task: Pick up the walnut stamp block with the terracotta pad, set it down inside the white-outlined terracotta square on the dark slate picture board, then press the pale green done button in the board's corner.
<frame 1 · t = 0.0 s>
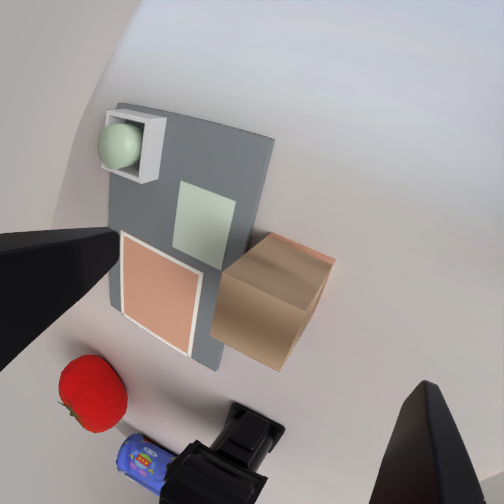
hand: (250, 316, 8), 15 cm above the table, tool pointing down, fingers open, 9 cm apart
done button: (121, 145, 23), point 3 cm above the table, slide at 0.0 cm
stamp: (293, 274, 24), on the table
pencil case: (186, 461, 48), on the table
tomato: (113, 376, 45), on the table
picture board: (168, 244, 29), on the table
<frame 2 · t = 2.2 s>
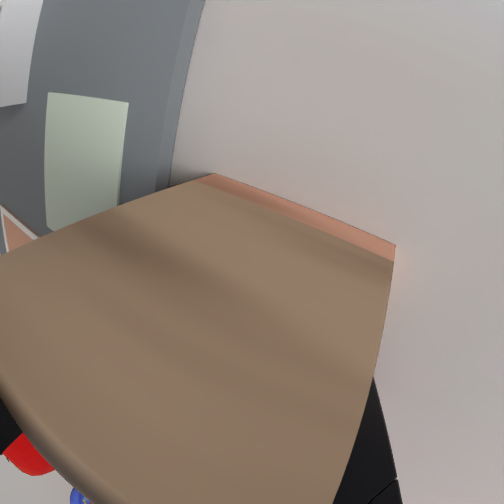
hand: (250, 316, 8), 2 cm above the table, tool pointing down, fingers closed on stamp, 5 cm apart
stamp: (274, 287, 9), on the table, touching gripper
tomato: (52, 407, 30), on the table
picture board: (49, 223, 14), on the table
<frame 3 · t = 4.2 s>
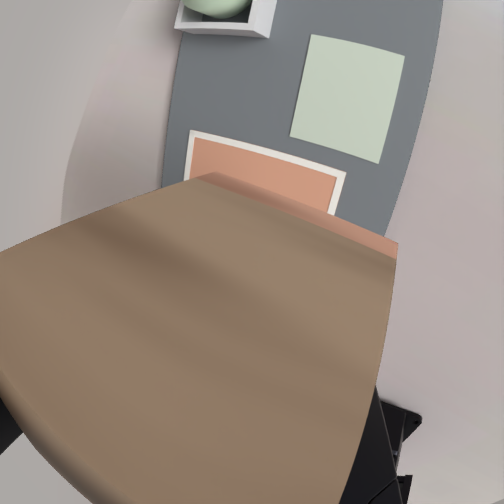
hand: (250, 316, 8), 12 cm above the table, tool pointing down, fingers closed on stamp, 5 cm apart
stamp: (276, 285, 9), point 10 cm above the table, touching gripper
picture board: (275, 139, 18), on the table
when the fingers open (4 cm above the table, at t = 6.6 s): stamp drops 1 cm, resting on picture board.
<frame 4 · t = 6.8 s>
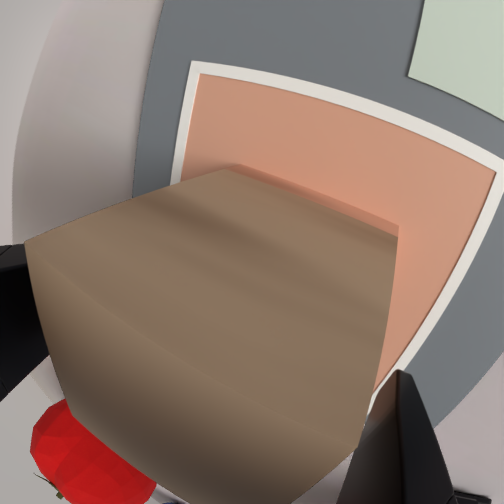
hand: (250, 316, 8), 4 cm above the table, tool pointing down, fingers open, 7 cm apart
stamp: (293, 265, 10), point 1 cm above the table, touching picture board
tomato: (129, 425, 25), on the table
picture board: (369, 84, 8), on the table
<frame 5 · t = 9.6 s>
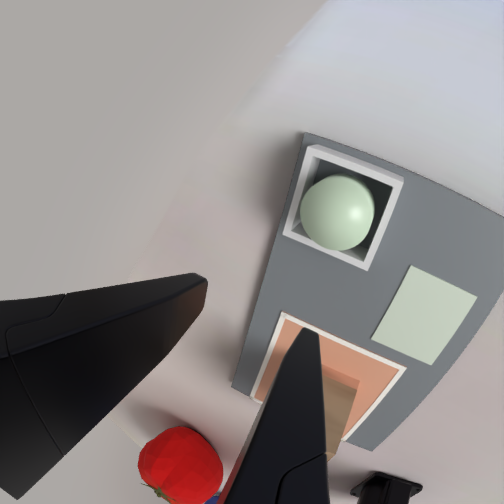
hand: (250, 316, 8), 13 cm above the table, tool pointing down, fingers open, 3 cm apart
done button: (339, 210, 16), point 3 cm above the table, slide at 0.0 cm
stamp: (319, 387, 24), point 1 cm above the table, touching picture board
tomato: (200, 442, 38), on the table
picture board: (356, 332, 21), on the table
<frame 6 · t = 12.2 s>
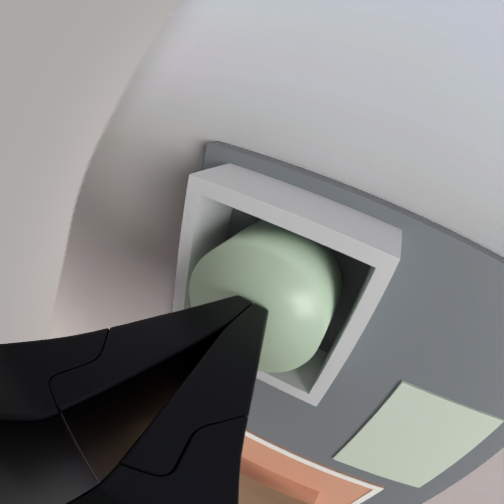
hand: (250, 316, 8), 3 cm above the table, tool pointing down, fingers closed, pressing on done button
done button: (267, 295, 9), point 2 cm above the table, slide at 0.7 cm, touching gripper
stamp: (268, 487, 16), point 1 cm above the table, touching picture board
picture board: (314, 444, 13), on the table
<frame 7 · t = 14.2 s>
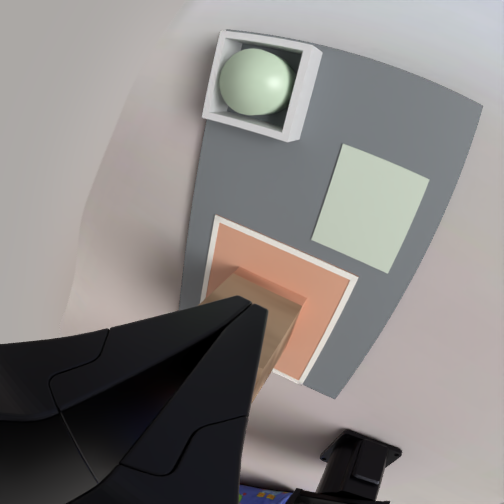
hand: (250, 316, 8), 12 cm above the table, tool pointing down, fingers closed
done button: (258, 82, 15), point 2 cm above the table, slide at 0.9 cm
stamp: (263, 309, 23), point 1 cm above the table, touching picture board
pencil case: (245, 485, 40), on the table
picture board: (297, 236, 20), on the table
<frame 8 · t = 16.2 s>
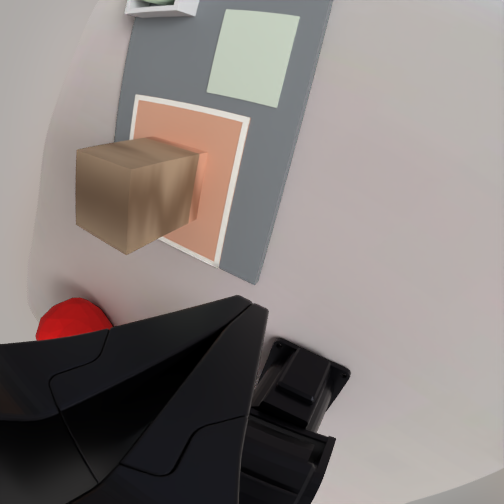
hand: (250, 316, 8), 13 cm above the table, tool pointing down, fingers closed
stamp: (174, 176, 23), point 1 cm above the table, touching picture board
tomato: (108, 330, 37), on the table
picture board: (198, 97, 20), on the table
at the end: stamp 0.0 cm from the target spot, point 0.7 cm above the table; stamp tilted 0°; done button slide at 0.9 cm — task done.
